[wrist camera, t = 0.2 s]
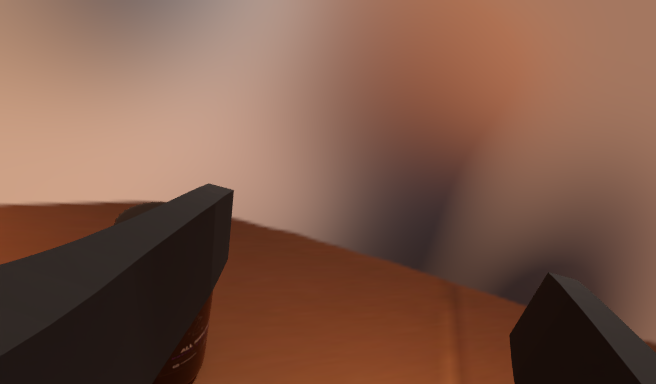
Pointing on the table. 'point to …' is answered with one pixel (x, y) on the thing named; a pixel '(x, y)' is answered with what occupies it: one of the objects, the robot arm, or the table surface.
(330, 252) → the table surface
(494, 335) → the table surface
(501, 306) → the table surface
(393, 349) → the table surface
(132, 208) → the supplement bottle
